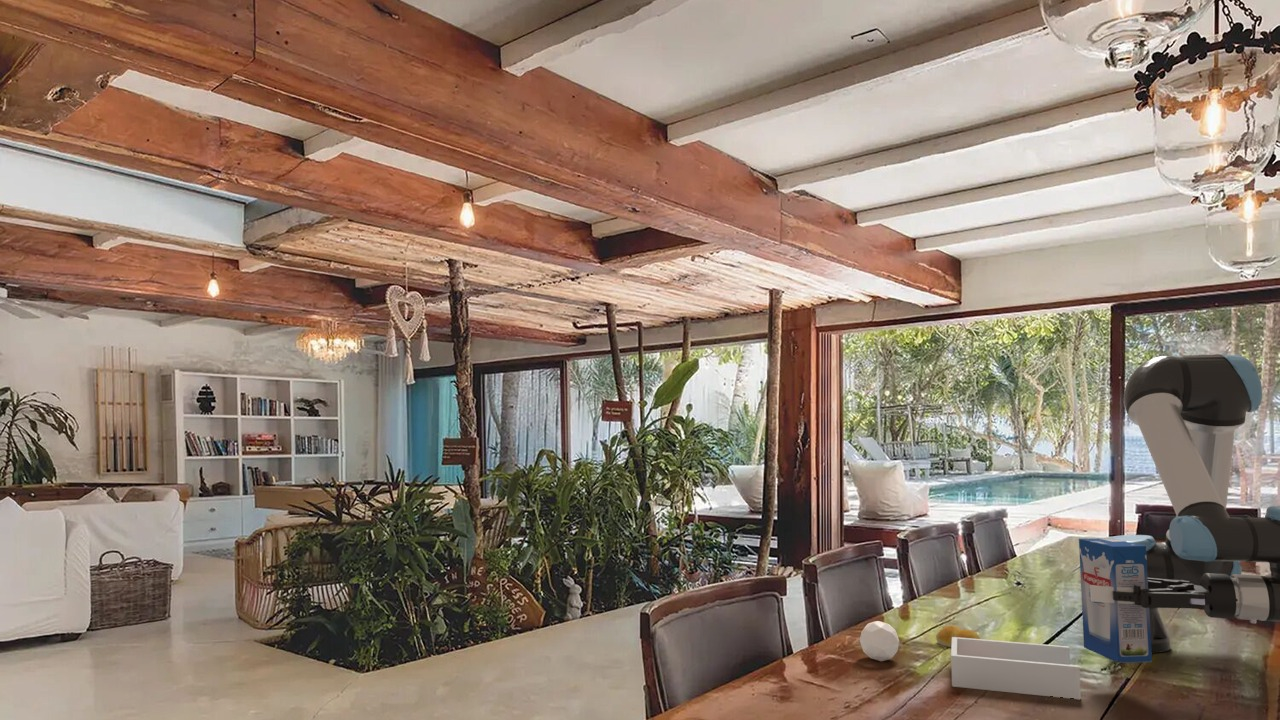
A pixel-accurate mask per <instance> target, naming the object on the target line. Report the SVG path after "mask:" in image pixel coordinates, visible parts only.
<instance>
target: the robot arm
mask: <svg viewBox="0 0 1280 720" xmlns="http://www.w3.org/2000/svg"><path fill="white" fill-rule="evenodd" d="M1123 393H1124V394H1123V401H1124V402H1123V403H1124V407H1125V408H1124V409H1125V410H1126V413H1127V416H1128V418H1129V420H1130V421H1131V423H1133V424H1134V425H1136V426H1138V427H1139V430H1140V433H1141V435H1142V437H1143V439H1144V442H1145V444H1146V446H1147V448H1148V451H1149V454H1150V456H1151V458H1152V460H1153V463H1154V465H1155V468H1156V470H1157V472H1158V475H1159V477H1160V480H1161V481H1162V484H1163V486H1164V489H1165V491H1166V494H1167V496H1168V499H1169V501H1170V504H1171V505H1172V508H1173V510H1174V512H1175V517H1174V518H1173V519H1171V521H1170V524H1169V529H1168V530H1167V531H1166V533H1165V541H1164V542H1160V541H1159V542H1156V540H1155V538H1154V537H1153V536H1152V535H1147V534H1123V535H1115V536H1108V537H1106V538H1112V539H1116V540H1121V541H1125V542H1130V543H1135V544H1139V545H1144V546H1146V557H1147V576H1148V589H1140V586H1137V585H1134V592H1133V588H1130V587H1117V591H1114V588H1113V587H1111V586H1096V585H1090V592H1091V601H1092V602H1108V603H1114V600H1116V601H1118V603H1123V604H1134V602H1135V604H1136V605H1141V607H1143V608H1149V614H1150V632H1151V651H1152V654H1153V653H1154V654H1155V653H1164V652H1168V651H1170V650H1171V639H1170V636H1169V634H1168V631H1167V629H1166V626H1165V624H1164V621H1163V618H1162V616H1161V614H1160V611H1159V609H1191V610H1192V609H1193V610H1200V611H1201V610H1202V611H1204V613H1205V614H1206V616H1207V617H1209V618H1212V619H1213V618H1214V619H1215V618H1216V619H1229V620H1230V619H1233V618H1234V617H1235V618H1236V619H1238V620H1249V623H1251V624H1254V625H1255V624H1257V620H1258V621H1261V622H1262V621H1264V622H1278V623H1280V505H1273V506H1269V507H1267V508H1266V510H1265V516H1263V517H1261V516H1258V517H1254V516H1253V517H1241V516H1240V517H1236V516H1235V517H1234V516H1230V515H1229V513H1228V511H1227V504H1228V496H1229V495H1228V493H1229V484H1230V478H1231V477H1230V475H1231V469H1232V468H1231V467H1232V458H1233V448H1234V441H1235V440H1234V439H1235V431H1236V429H1239V428H1240V427H1241V426H1243V425H1245V423H1246V414H1247V413H1252V412H1254V411H1257V410H1258V409H1259V407H1260V406H1261V405H1262V400H1263V386H1262V381H1261V377H1260V376H1259V373H1258V371H1257V369H1256V367H1255V365H1254V364H1253V363H1252V362H1251V361H1250V360H1249V359H1248V358H1247V357H1245V356H1242V355H1236V354H1223V353H1218V354H1196V355H1195V354H1193V355H1192V354H1190V355H1160V356H1157V357H1156V356H1155V357H1154V358H1151V359H1148V360H1147V361H1144V362H1143V363H1141V364H1140V365H1139V366H1138V367H1137V368H1136V369H1135V370H1134V371H1133V373H1132V374H1131V375H1130V377H1129V379H1128V380H1127V382H1126V385H1125V388H1124V392H1123ZM1241 562H1243V563H1245V562H1246V563H1247V562H1248V563H1269V571H1270V575H1265V576H1264V575H1260V574H1259V575H1258V574H1242V571H1243V570H1242V566H1241Z"/></svg>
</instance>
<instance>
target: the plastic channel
mask: <svg viewBox="0 0 1280 720" xmlns="http://www.w3.org/2000/svg"><path fill="white" fill-rule="evenodd" d="M950 650H951V651H950V662H951V663H950V664H951V665H950V667H951V687H954V688H955V687H956V688H966V689H974V690H983V691H984V690H985V691H994V692H1003V693H1004V692H1005V693H1013V694H1020V695H1021V694H1023V695H1033V696H1042V697H1050V696H1053V697H1052V698H1060V697H1063V698H1062V699H1070V698H1074V699H1073V700H1080V699H1081V700H1082V698H1081V697H1082V696H1081V675H1080V674H1081V673H1080V665H1078V664H1077V665H1075V664H1071V655H1070V654H1071V653H1070V650H1071V649H1070V646H1069V645H1068V646H1067V645H1058V644H1057V645H1056V644H1055V645H1054V644H1045V643H1044V644H1042V643H1031V642H1030V643H1029V642H1018V641H1009V640H1007V641H1006V640H995V639H982V638H980V639H972V638H960V637H952V645H951V647H950Z"/></svg>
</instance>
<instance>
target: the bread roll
mask: <svg viewBox="0 0 1280 720" xmlns="http://www.w3.org/2000/svg"><path fill="white" fill-rule="evenodd" d="M952 637H960V638H972V639H981V636H980V635H979V634H978V633H977V632H975V631H973V630H969V629H961V628H959V627H958V626H955V625H946V626H944V627H942V628H941V629H940V630H939V631H938V632H937V633H936V635H935V639H936V642H937V643H938V644H940V645H941V646H943V647H947V648H951V645H952Z"/></svg>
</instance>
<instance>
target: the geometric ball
mask: <svg viewBox="0 0 1280 720" xmlns="http://www.w3.org/2000/svg"><path fill="white" fill-rule="evenodd" d="M859 642H860V646H861V648H862V651H863V653H865V655H867V656H868V657H869V659H872V660H874V661H879V662H884V661H888V660H891V659H892V658H894V656H895V655H896V654H897V652H898V651H899V646H900V640H899V636H898V633H897V631H896V629H895V628H894V627H892V625H891V624H889V623H886V622H884V621H880V620H876V621H872V622H871V621H870V622H869V623H867V624H866V625H865V626H864V628H863V629H862V631H861V633H860V637H859Z"/></svg>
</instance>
